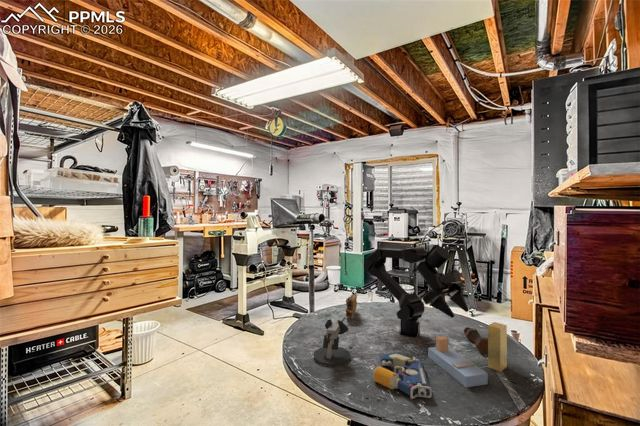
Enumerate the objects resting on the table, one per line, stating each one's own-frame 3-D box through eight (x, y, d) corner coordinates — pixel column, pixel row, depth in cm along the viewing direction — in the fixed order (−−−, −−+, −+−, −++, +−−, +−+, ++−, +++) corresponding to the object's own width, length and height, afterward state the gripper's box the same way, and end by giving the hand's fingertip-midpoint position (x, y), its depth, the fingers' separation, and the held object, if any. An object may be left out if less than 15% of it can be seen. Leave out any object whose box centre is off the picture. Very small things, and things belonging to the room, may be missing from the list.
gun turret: (358, 343, 111) (358, 308, 111) (345, 371, 92) (345, 328, 92) (325, 338, 115) (325, 305, 115) (306, 364, 96) (306, 323, 96)
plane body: (428, 356, 101) (428, 335, 101) (446, 354, 103) (446, 333, 102) (465, 387, 83) (465, 362, 83) (487, 384, 85) (487, 359, 85)
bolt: (469, 340, 118) (488, 358, 103) (458, 333, 118) (474, 350, 103) (477, 327, 118) (496, 343, 103) (465, 320, 118) (483, 335, 103)
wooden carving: (347, 310, 148) (347, 290, 148) (357, 311, 147) (357, 290, 147) (344, 322, 132) (344, 299, 132) (354, 323, 131) (354, 300, 131)
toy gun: (372, 397, 80) (432, 405, 77) (372, 380, 80) (432, 388, 77) (374, 360, 100) (421, 366, 97) (374, 347, 100) (422, 352, 97)
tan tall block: (488, 367, 94) (488, 325, 94) (494, 362, 97) (494, 322, 97) (500, 371, 91) (500, 328, 91) (506, 367, 94) (506, 325, 94)
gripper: (430, 265, 101) (463, 306, 92) (459, 259, 112) (491, 296, 104) (410, 284, 107) (439, 325, 99) (440, 277, 119) (468, 313, 110)
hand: (460, 314), depth 103 cm, fingers open, 9 cm apart
